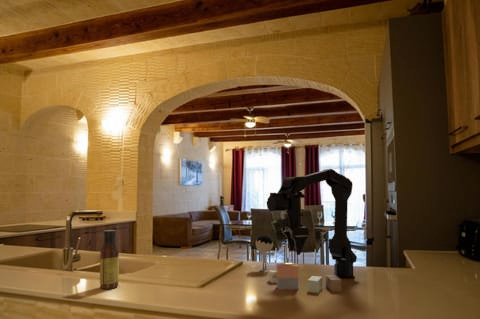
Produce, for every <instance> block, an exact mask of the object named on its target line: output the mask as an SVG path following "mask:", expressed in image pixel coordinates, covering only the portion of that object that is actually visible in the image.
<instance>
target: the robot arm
mask: <svg viewBox="0 0 480 319" xmlns="http://www.w3.org/2000/svg"><path fill="white" fill-rule="evenodd" d="M324 181H325V183H326V184H327V185H328V187H330V191H331V194H332V196H333V198H334V225H333V226H334V231H333V232H334V233H333V236H332V237H331V238H329V239H328V250H329V254H330V255H331V259H332V260H335V263H334V265H333V266H334V267H333V270H334V272H333V275H336V276H337V277H338V278H340V279H355V278H356V276H355V275H354V263H357V258H358V256H357V254H355V253H354V251H353V250H352V244H351V240H350V239H349V237H348V200H349V198H350V197H351V195H352V193H353V192H352V190H353V181H352V180H351V178H348V177H346V176H345V175H343V174H341V173H339V172H337V171H336V170H334V169H332V168H327V169H323V170H320V171H317V172H313V173H309V174H307V175H303V176H292V177H291V176H290V177H288V176H287V177H286V178H284V179H283V180H282V184H281V186H280V188H279V190H278V191H277V192H270V193H269V196H268V198H267V201H266V207H267V209H268V211H270V212H284V214H283V217H279V218H277V219H275V220H273V221H271V222H270V224H271V227H272V230H273V231H275V232H277V231H281V233H282V234H283V235H284V236H286V241H287V243H288V246H289V251H294V248H295V251H296V255H297V256H300V255H301V254H302V250H303V248H304V246H305V243H306V241H307V239H308V238H309V236H310V229H309V228H308V227H306V226H304V224H303V223H302V222H303V220H302V217H303V216H304V213H303V212H302V199H306V195H305V194H304V193H303V192H302V191H304V190H306V188H308V187H309V186H311V185H315V184H317V183H322V182H324Z"/></svg>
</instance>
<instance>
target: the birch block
mask: <svg viewBox="0 0 480 319" xmlns="http://www.w3.org/2000/svg"><path fill="white" fill-rule="evenodd" d="M268 281H269V282H270V283H272V284H275V283H276V284H277V269H272V270H271V269H270V270H268Z"/></svg>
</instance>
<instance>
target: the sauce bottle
mask: <svg viewBox="0 0 480 319" xmlns="http://www.w3.org/2000/svg"><path fill="white" fill-rule="evenodd" d="M116 234H117V232H116V229H108V230H103V245H102V247H101V249H100V255H99V256H100V258H99V284H100V286H99V287H100V289H103V290H112V289H115V288H117V287H118V286H119V279H120V278H119V276H120V275H119V274H120V273H119V272H120V271H119V270H120V266H119V264H120V263H119V262H120V261H119V260H120V253H119V250H118V246H117V243H116Z"/></svg>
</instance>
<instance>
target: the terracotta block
mask: <svg viewBox="0 0 480 319" xmlns="http://www.w3.org/2000/svg"><path fill="white" fill-rule="evenodd" d="M276 270H277V277H278V278H298V279H299V265H298V264H296V263H287V264H286V263H284V264H283V263H279V264H276Z"/></svg>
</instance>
